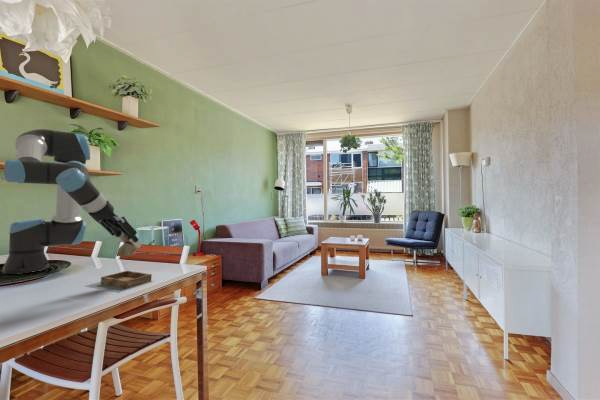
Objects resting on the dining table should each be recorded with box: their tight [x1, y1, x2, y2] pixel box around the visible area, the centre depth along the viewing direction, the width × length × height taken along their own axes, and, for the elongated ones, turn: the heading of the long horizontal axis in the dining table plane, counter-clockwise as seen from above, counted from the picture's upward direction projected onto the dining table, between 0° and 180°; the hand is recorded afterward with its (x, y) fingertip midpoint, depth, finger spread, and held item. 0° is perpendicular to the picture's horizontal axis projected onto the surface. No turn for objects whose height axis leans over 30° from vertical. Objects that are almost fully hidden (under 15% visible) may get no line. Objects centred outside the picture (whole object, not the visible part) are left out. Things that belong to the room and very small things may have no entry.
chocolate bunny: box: [115, 234, 137, 257], centre depth 117 cm, size 6×8×10 cm
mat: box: [85, 280, 154, 294], centre depth 116 cm, size 18×16×1 cm
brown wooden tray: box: [100, 270, 152, 289], centre depth 117 cm, size 14×12×3 cm
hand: (135, 245), depth 121 cm, fingers closed on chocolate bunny, 4 cm apart
